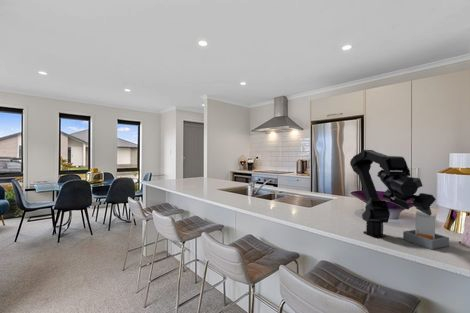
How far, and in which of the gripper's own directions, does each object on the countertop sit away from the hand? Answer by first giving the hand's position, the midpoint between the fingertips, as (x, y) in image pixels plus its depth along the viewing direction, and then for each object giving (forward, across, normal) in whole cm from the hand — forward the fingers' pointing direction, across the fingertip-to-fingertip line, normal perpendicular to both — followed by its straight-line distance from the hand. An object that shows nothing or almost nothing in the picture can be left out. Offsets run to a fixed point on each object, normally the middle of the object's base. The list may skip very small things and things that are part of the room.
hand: (418, 211), depth 89 cm
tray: (+11, 0, +7) cm, 13 cm away
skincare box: (+11, 0, +7) cm, 13 cm away
